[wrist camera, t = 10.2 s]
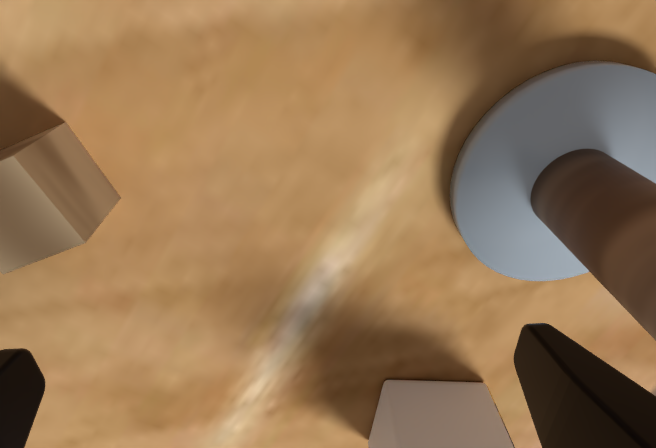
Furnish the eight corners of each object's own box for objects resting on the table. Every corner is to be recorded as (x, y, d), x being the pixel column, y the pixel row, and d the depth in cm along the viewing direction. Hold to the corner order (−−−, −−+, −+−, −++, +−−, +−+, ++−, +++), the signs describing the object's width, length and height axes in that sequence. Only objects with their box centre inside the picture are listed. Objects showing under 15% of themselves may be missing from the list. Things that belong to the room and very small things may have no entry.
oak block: (51, 224, 21) (3, 274, 18) (-9, 154, 19) (-77, 194, 16) (121, 196, 20) (85, 242, 17) (67, 121, 18) (13, 155, 15)
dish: (437, 272, 24) (443, 285, 23) (467, 63, 18) (477, 69, 17) (630, 263, 24) (644, 276, 23) (718, 56, 18) (743, 62, 17)
